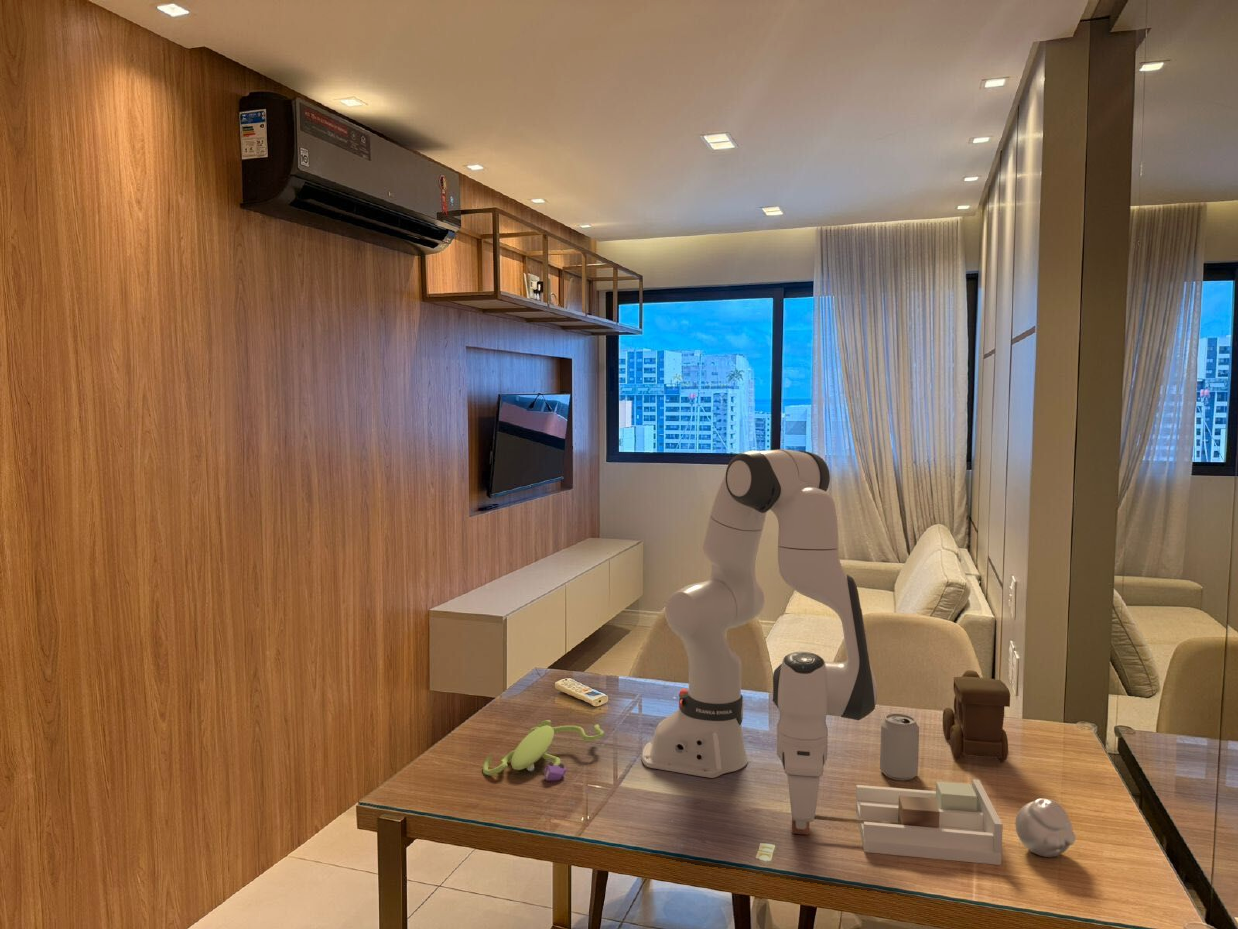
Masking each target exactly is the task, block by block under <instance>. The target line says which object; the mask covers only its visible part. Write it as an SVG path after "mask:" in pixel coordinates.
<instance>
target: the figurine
mask: <svg viewBox="0 0 1238 929" xmlns="http://www.w3.org/2000/svg"><path fill="white" fill-rule="evenodd" d="M551 724H552V721H551V720H550V719H545V720H543V721H541V722H540V723H539V724H537V726H536V727H532V728H530V729H529V730H528V734H527V735H526V736H525V737H524V738H523V739H522V740H521V741H520V742H519V744H518V745H517V746H516V748H515V749H514V750H512V751H510V752H509V753H508V754H506V756H504V757H503V758H502V759H501V764H500V765H498V766H496V767H494V768H492V769H489V766H490V764H491V762H492V760H493V756H491V755H489V756H488V755H487V757H486V758H485V761H484V763H483V765H482V772H483V774H484V775H486V776H494V775H496V774H500V773H502V772H503V771H504V770H505V769H506V768H507V767H508V762H510V760H511V762H510V765H511V767H512V769H513V770H516V771H521V770H524V769H526V770H527V771H529V772H533V771H534V770H535V763H536V762H537V761H539V760H540V759H542V758H543V759H544V760H548V764H547V766H546V767H545V770H543V775H544V776H545V777H544V778H545V779H546V781H548V782H549V781H550V782H552V781H560V780H562V777H564V776H565V774H566V772H567V770H568V769H567V767H566V766H565V764H563V763H562V762H561V761H562V760H561V759H560V757H557V756H555V755H551V754H548V753H547V751H548V749H549V748H550V747H551V746H550V745H551V743H552V741H553V739H554V736H555V733H561V732H562V733H563V732H577V733H579V734H580V737H581V738H582V740H583V741H586V742H592V741H596V740H599V739H601V738H603V736H604V734H605V732H604V730H603V729H601V726H600V725H599V724H597V723H596V724H595V725H594V726H593V730H594V731H595V732H596V733H597V734H596V735H587V734H586V733H585V730H584V728H582V727H581V726H578V725H577V726H576V725H560V726H554V727H553V726H551ZM552 761H554V762H552Z"/></svg>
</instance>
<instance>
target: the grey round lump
mask: <svg viewBox="0 0 1238 929" xmlns="http://www.w3.org/2000/svg"><path fill="white" fill-rule="evenodd" d="M1014 824H1015V832H1016V834H1017V837H1018V839H1019V841H1020V842H1021V844H1023V846H1024V847H1025V848H1027V849H1028V850H1029V851H1030V852H1032V853H1033V854H1035V855H1038V856H1039V857H1040V856H1041V857H1045V858H1047V857H1048V858H1053V857H1057V856H1060V855H1062V854H1063V853H1065V852H1066V851H1067V850H1068V849H1069V848H1070V846H1072V845H1074V844H1075V842H1076V834H1075V832H1074V829H1073V825H1072V822H1071V820H1070V818H1069V814H1067V812H1066V811H1065V809H1064V808H1063V806H1062V805H1060V804H1059V802H1057V801H1055V800H1053V799H1050V798H1044V797H1043V798H1037V799H1036V800H1033V801H1030V802H1028V803H1025V804H1024V805H1023V806H1022V807H1020V809H1019V810H1018V812H1017V814H1016V817H1015V823H1014Z"/></svg>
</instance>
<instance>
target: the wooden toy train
mask: <svg viewBox="0 0 1238 929" xmlns="http://www.w3.org/2000/svg"><path fill="white" fill-rule="evenodd" d="M953 693H954V699H953V709H952V708H951V707H945V708H944V710H943V711H942V732H943V737H945V739H946V740H949V742H950V743H949V744H950V752H951V755H952V757H954V758H956V759H960V758H962V756H970V757H981V758H993V759H996V760H997V761H998V762H1000V763H1002V762H1005V761H1007V759H1008V756H1009V741H1008V740H1009V739H1008V735H1007V731H1005V729H1004V720H1005V707H1007V708H1010V707H1011V693H1010V689H1009V688H1008V686H1007V685H1006V683H1004V682H1003V681H1002V680H1000V679H995V678H989V677H988V678H987V677H980V675H979V673H978V672H977V671H975V670H966V671H964V673H963V674H962V675H961V676H953Z"/></svg>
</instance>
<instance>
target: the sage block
mask: <svg viewBox="0 0 1238 929" xmlns="http://www.w3.org/2000/svg"><path fill="white" fill-rule="evenodd" d="M935 791H936V804H937V807H938V809H944V810H956V811H968V812H976V807H977V796H976V794H975V792H974V790H973V788H972V784H971V783H961V782H950V781H949V782H948V781H935Z"/></svg>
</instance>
